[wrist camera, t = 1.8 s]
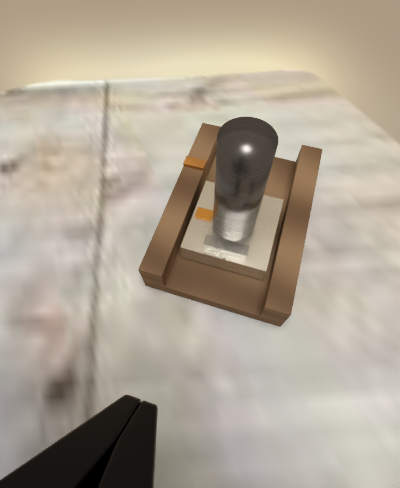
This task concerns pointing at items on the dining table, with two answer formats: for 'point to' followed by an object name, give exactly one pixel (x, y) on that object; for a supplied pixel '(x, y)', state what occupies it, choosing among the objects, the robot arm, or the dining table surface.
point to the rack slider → (237, 202)
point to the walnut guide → (220, 280)
